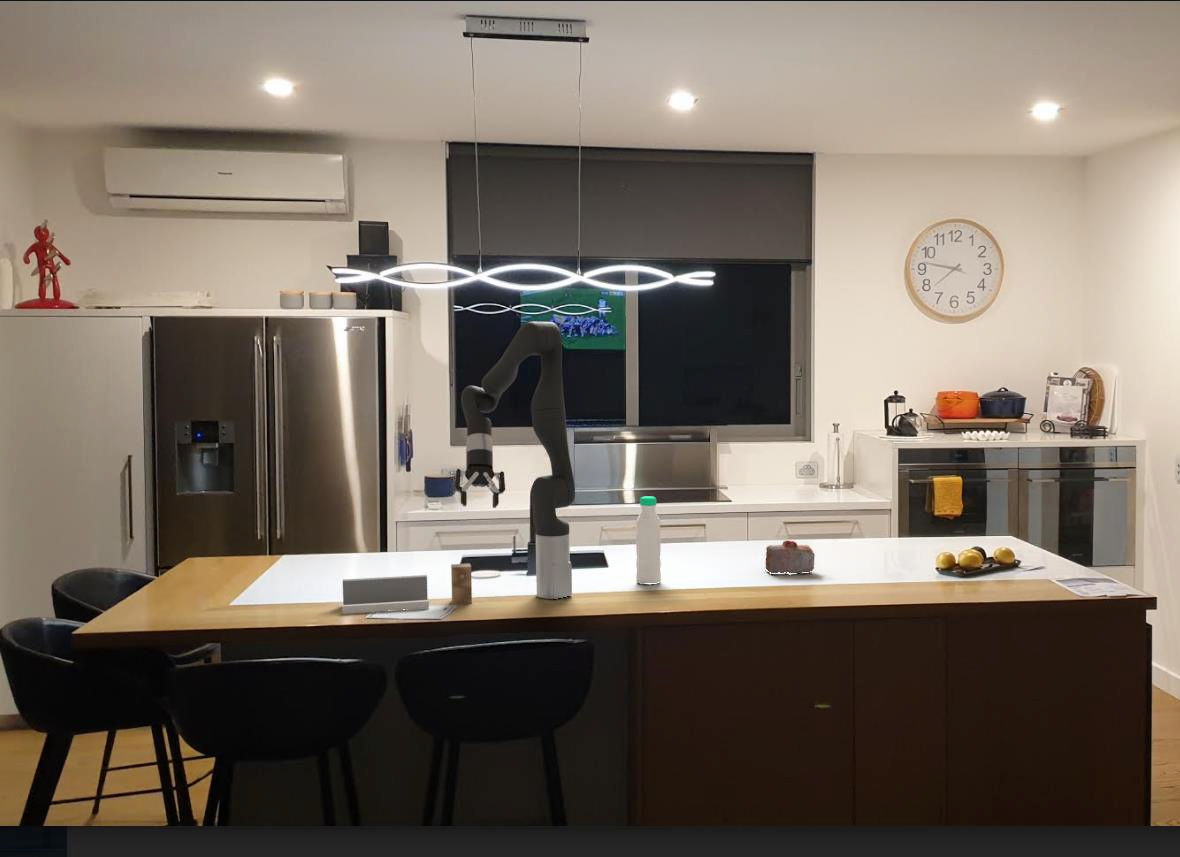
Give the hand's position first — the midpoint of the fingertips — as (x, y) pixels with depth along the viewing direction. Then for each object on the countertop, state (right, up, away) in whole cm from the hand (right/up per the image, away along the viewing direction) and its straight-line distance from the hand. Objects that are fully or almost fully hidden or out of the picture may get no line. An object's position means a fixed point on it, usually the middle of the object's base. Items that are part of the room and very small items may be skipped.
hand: (479, 506), depth 278 cm
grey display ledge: (-23, -25, -17) cm, 38 cm away
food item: (+91, -22, +19) cm, 95 cm away
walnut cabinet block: (-3, -25, -12) cm, 28 cm away
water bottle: (+48, -23, +8) cm, 54 cm away
